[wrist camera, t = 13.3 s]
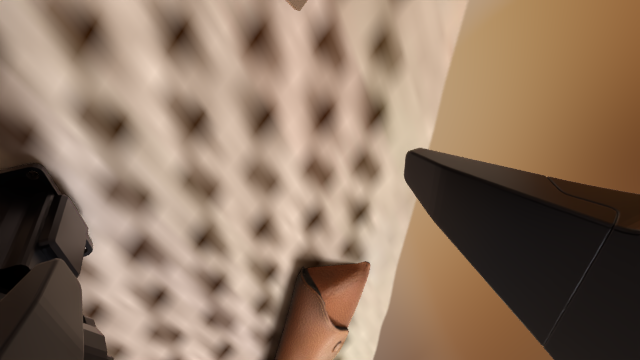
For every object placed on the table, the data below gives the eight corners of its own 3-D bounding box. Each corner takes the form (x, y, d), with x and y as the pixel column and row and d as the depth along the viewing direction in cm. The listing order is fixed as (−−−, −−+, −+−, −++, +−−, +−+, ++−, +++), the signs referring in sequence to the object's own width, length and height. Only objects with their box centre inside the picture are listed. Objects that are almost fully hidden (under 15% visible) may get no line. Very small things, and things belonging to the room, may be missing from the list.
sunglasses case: (328, 368, 42) (323, 426, 36) (273, 354, 42) (259, 410, 36) (373, 257, 34) (376, 309, 28) (305, 239, 34) (294, 287, 28)
